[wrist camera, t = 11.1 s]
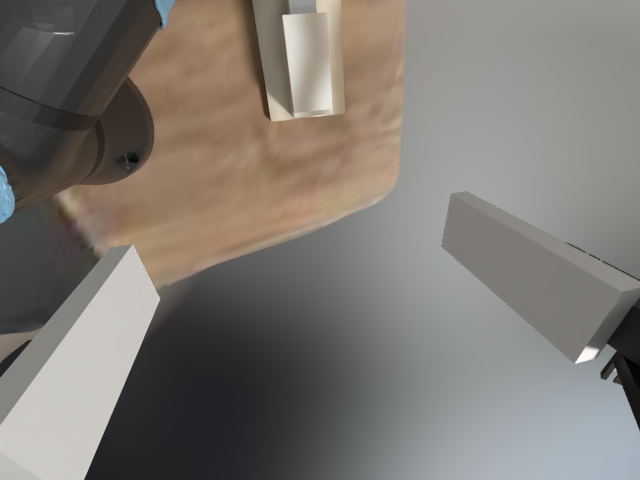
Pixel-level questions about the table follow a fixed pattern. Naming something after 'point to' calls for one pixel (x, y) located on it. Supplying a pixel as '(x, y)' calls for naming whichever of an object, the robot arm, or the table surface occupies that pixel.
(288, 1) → the tube
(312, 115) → the tube rig
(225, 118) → the table surface
